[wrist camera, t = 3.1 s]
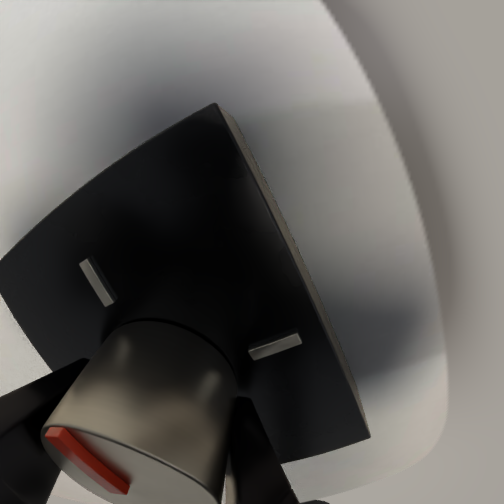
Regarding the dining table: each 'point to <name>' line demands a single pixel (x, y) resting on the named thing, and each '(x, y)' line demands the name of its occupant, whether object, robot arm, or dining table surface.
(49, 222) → the panel
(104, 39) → the dining table surface
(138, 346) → the knob
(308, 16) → the dining table surface
